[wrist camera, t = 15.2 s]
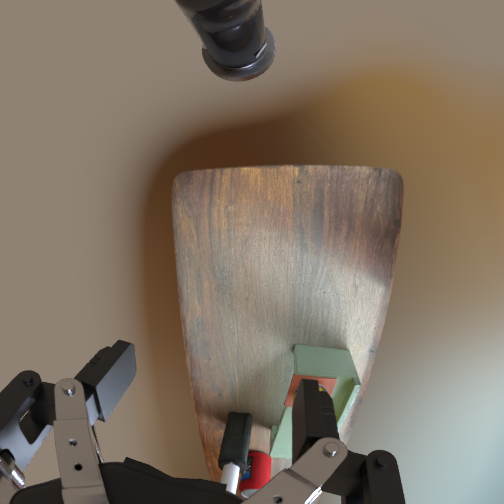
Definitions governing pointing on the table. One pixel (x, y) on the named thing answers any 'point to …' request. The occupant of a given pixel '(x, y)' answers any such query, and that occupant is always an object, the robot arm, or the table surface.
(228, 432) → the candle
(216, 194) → the table surface
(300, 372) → the shelf
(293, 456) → the robot arm
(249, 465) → the beverage can
